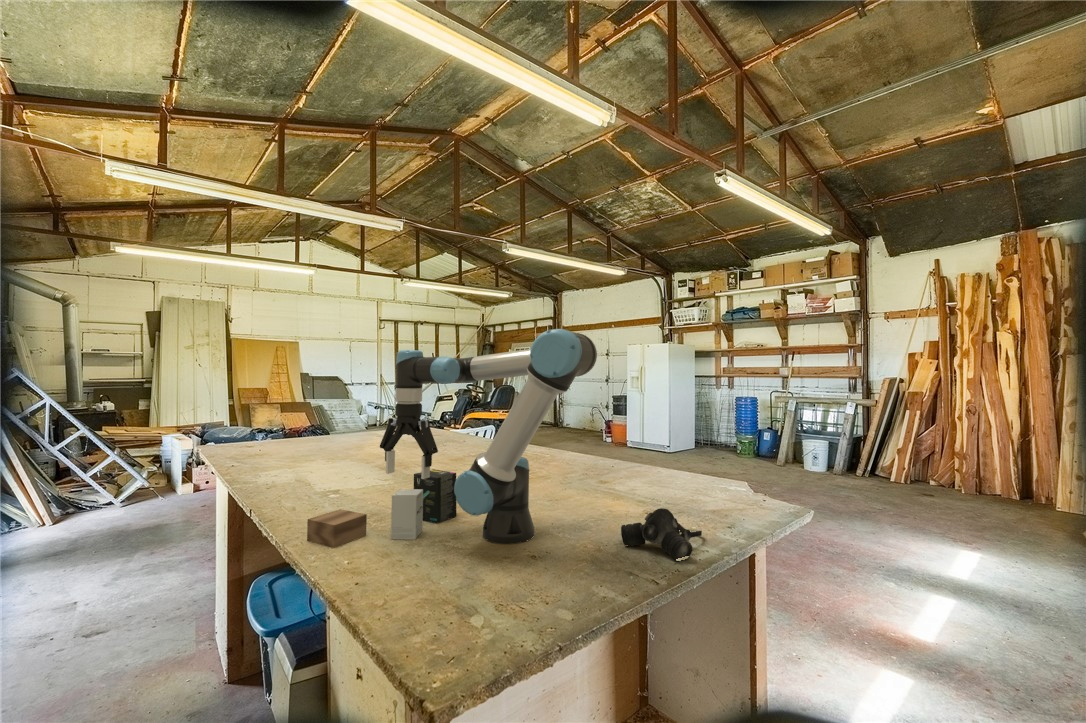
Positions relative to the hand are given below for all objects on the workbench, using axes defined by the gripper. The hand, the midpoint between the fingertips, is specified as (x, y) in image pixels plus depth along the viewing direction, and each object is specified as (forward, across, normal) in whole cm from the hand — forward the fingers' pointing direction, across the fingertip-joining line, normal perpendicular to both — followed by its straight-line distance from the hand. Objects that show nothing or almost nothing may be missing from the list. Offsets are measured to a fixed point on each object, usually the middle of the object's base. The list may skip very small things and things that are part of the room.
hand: (407, 475), depth 136 cm
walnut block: (+17, +16, +11) cm, 26 cm away
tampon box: (+18, +4, -17) cm, 25 cm away
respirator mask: (+18, -70, -30) cm, 78 cm away
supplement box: (+18, 0, 0) cm, 18 cm away
